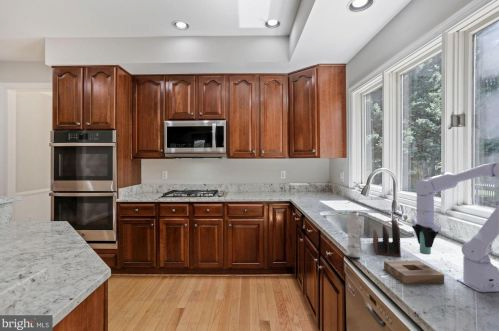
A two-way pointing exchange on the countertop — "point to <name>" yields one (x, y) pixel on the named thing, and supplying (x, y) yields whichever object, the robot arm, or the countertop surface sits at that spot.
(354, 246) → the plastic bottle
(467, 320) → the countertop surface
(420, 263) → the socket block
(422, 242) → the peg
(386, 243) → the letter holder
